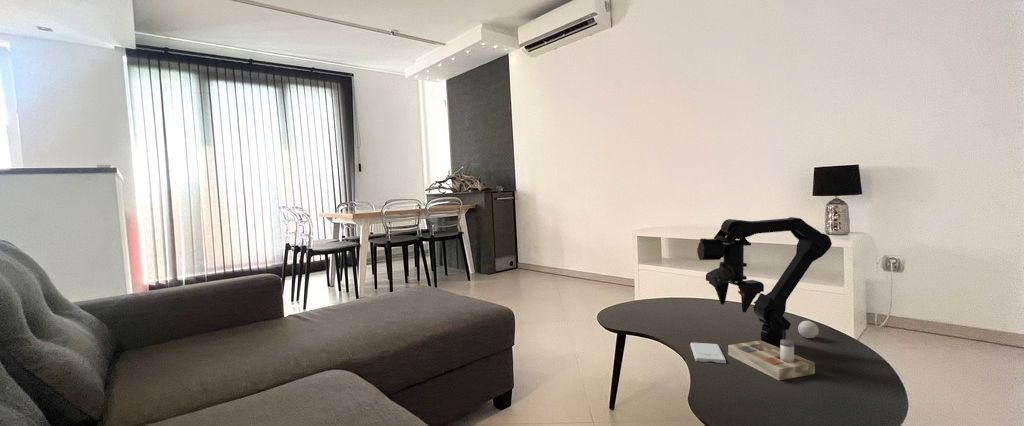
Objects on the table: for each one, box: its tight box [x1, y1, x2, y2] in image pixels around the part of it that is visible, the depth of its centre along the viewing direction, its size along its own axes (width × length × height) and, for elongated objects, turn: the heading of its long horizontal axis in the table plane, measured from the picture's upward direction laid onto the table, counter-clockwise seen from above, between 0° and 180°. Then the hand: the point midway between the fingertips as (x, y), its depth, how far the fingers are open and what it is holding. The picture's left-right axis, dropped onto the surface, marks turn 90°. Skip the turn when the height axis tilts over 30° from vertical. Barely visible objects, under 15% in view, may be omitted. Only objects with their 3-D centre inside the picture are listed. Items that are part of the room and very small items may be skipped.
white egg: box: [797, 320, 820, 339], centre depth 146 cm, size 8×6×6 cm
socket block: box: [727, 339, 816, 381], centre depth 126 cm, size 12×18×3 cm, turn 15°
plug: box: [780, 338, 795, 363], centre depth 121 cm, size 3×3×8 cm
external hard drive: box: [690, 342, 727, 364], centre depth 134 cm, size 2×8×12 cm
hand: (733, 308), depth 139 cm, fingers open, 9 cm apart
